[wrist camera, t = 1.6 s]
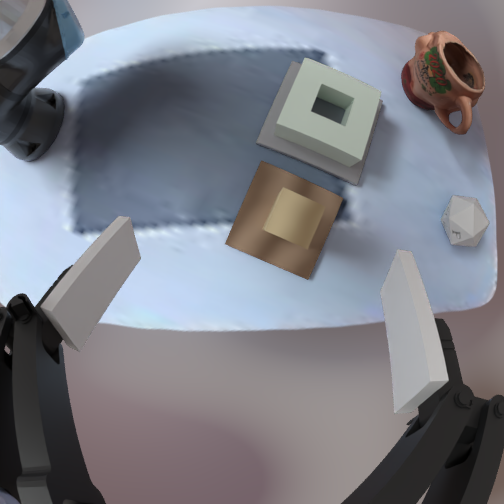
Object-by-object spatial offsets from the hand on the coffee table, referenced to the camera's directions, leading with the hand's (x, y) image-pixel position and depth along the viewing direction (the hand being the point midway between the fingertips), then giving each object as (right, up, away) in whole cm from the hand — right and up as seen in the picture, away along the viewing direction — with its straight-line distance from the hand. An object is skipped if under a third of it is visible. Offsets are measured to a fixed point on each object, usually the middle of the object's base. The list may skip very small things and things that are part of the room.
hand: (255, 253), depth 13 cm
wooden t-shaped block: (+5, +5, +27) cm, 28 cm away
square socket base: (+11, +20, +25) cm, 34 cm away
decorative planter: (+31, +29, +25) cm, 49 cm away
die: (+35, +6, +27) cm, 44 cm away
